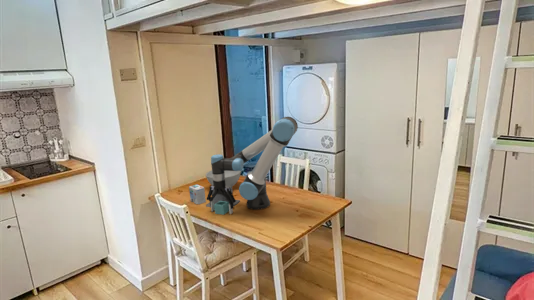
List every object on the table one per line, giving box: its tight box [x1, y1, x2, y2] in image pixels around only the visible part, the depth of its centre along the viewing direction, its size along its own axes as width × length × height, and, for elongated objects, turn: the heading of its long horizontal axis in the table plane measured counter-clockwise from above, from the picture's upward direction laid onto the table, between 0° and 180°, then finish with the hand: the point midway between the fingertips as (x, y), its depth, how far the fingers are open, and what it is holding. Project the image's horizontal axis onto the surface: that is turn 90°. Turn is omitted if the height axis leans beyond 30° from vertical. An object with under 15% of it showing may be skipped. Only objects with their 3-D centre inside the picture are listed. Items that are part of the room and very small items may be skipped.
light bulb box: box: [188, 184, 207, 205], centre depth 230 cm, size 11×7×11 cm, turn 40°
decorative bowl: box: [205, 170, 242, 188], centre depth 256 cm, size 27×27×12 cm
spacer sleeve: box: [214, 201, 230, 216], centre depth 209 cm, size 6×6×6 cm
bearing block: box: [205, 186, 241, 208], centre depth 222 cm, size 18×14×11 cm
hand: (222, 211), depth 209 cm, fingers open, 13 cm apart
